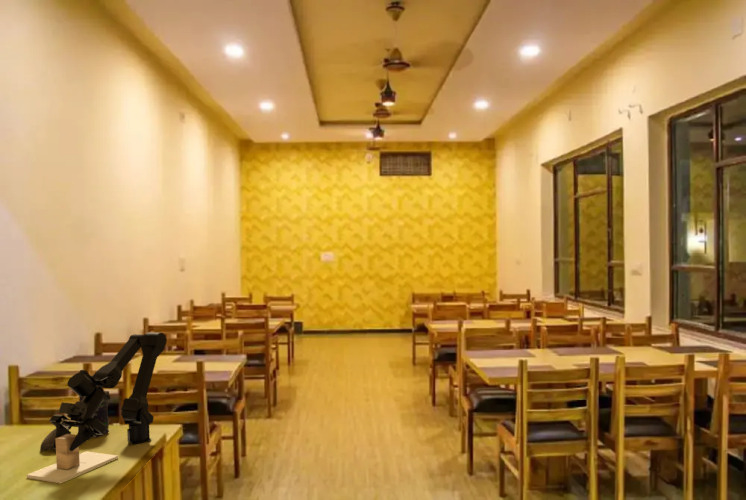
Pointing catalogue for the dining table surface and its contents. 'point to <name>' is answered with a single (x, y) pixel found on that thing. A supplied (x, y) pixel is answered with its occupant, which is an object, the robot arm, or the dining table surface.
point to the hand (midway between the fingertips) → (62, 449)
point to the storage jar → (101, 415)
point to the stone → (48, 441)
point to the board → (86, 464)
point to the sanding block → (66, 452)
